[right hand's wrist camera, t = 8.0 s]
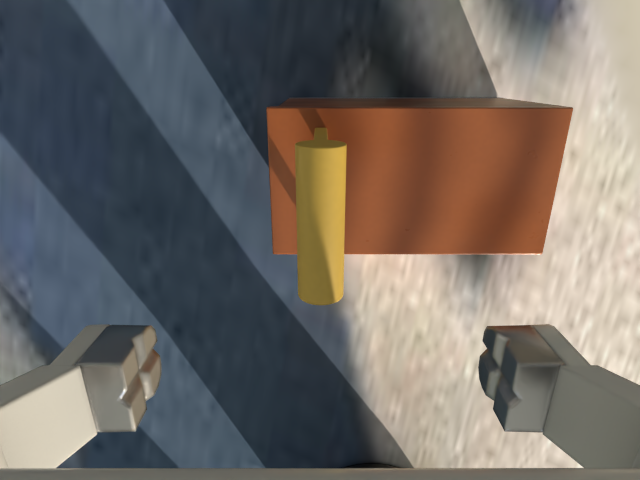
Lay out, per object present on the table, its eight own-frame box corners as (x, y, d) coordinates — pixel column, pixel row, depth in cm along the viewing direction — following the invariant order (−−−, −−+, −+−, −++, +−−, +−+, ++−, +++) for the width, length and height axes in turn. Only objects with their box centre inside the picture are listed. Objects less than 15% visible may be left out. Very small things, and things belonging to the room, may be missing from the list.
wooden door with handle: (274, 247, 28) (254, 323, 20) (268, 106, 25) (240, 122, 16) (534, 247, 28) (627, 323, 20) (562, 106, 25) (690, 122, 16)
